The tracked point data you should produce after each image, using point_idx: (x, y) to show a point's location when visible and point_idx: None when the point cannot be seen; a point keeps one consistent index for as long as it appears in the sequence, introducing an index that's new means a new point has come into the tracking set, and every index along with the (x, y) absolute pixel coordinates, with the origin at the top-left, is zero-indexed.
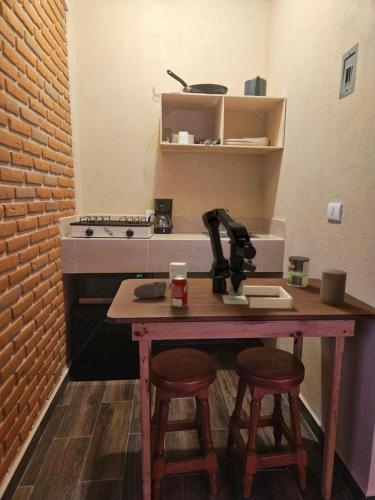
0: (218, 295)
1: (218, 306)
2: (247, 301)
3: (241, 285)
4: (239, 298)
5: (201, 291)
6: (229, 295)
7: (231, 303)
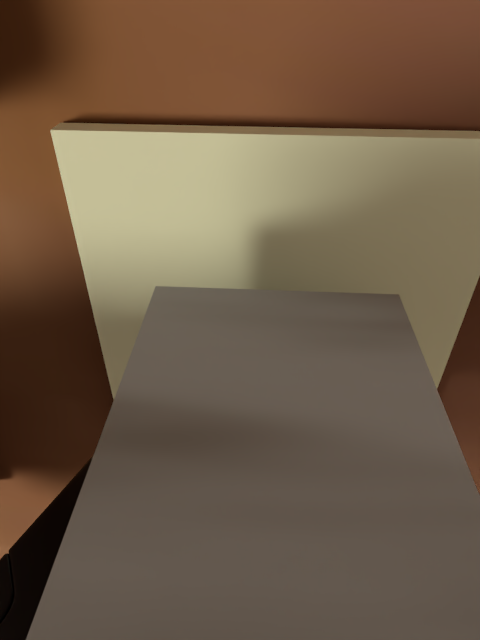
0: (92, 445)
1: (476, 484)
2: (436, 141)
3: (477, 523)
4: (249, 256)
5: (5, 539)
6: (112, 365)
7: (434, 378)
